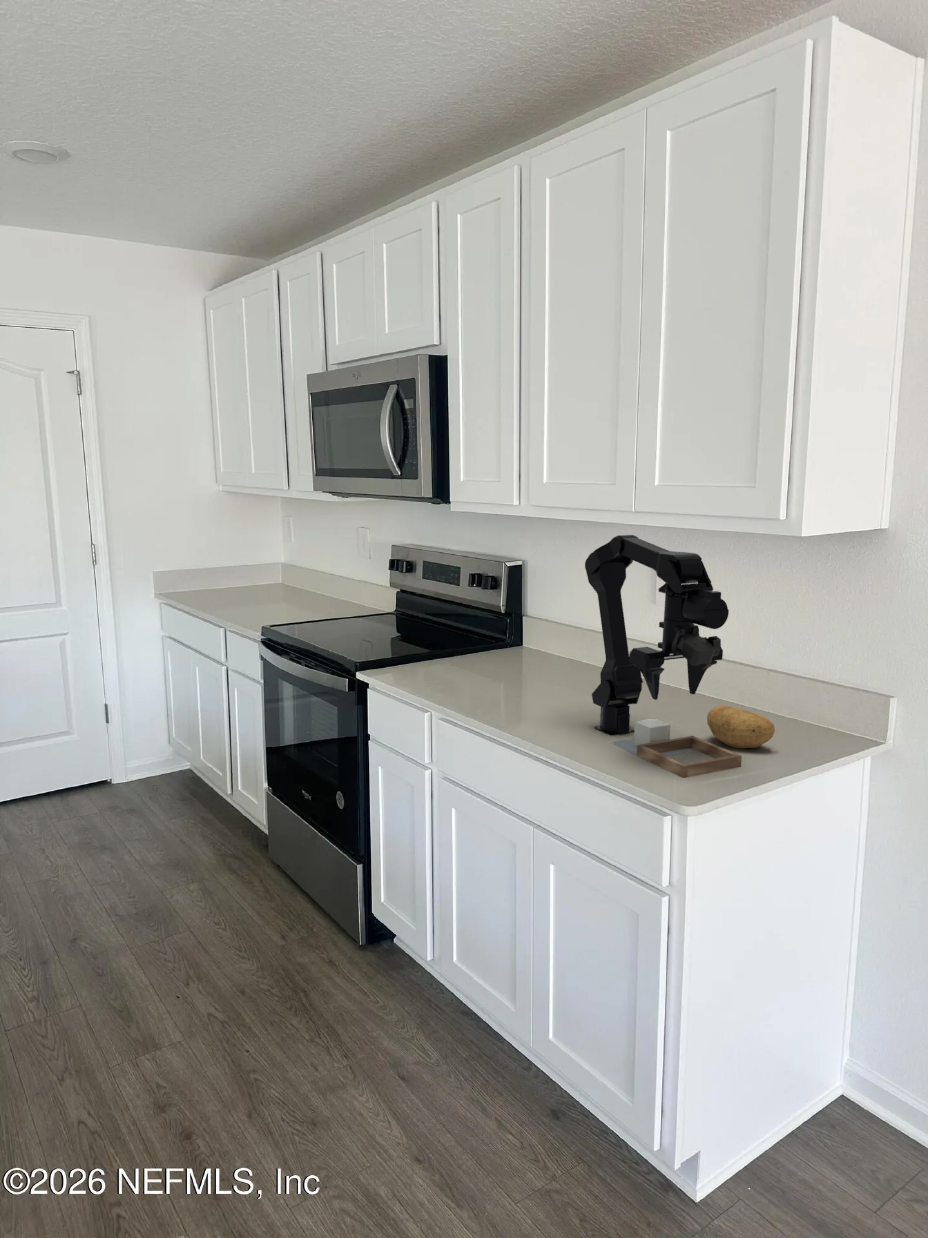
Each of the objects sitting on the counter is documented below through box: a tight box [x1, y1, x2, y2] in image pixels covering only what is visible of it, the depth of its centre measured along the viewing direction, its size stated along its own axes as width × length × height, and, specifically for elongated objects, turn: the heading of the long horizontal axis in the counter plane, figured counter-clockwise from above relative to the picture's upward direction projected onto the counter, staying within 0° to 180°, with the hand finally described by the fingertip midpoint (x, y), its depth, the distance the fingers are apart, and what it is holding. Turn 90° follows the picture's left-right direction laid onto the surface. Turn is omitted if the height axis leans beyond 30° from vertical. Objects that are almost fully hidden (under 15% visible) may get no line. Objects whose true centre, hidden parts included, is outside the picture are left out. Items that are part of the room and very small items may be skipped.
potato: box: [706, 705, 776, 749], centre depth 177 cm, size 10×14×8 cm
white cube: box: [633, 718, 671, 746], centre depth 177 cm, size 5×5×5 cm
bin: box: [636, 735, 743, 779], centre depth 168 cm, size 14×14×2 cm
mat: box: [610, 738, 694, 760], centre depth 177 cm, size 12×12×1 cm
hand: (673, 696), depth 169 cm, fingers open, 9 cm apart
